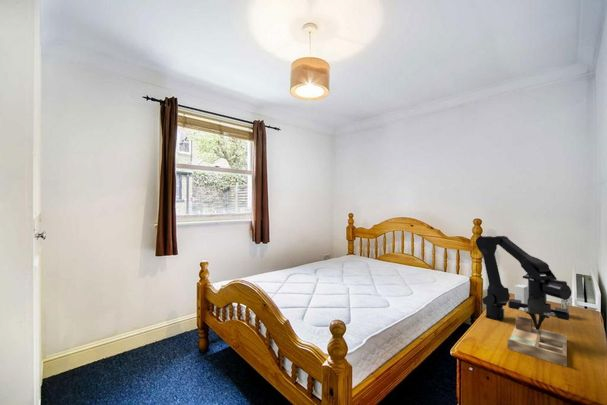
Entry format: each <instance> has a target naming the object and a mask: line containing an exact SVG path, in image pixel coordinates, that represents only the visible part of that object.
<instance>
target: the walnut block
mask: <svg viewBox="0 0 607 405" xmlns="http://www.w3.org/2000/svg"><path fill="white" fill-rule="evenodd" d="M515 325H516V329H518V330H522V331H526V332H530V333H531V332H532V327H533V320H532V318H527V317H525V316H524V317H523V316H519V315H517V316H516V318H515Z"/></svg>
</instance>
